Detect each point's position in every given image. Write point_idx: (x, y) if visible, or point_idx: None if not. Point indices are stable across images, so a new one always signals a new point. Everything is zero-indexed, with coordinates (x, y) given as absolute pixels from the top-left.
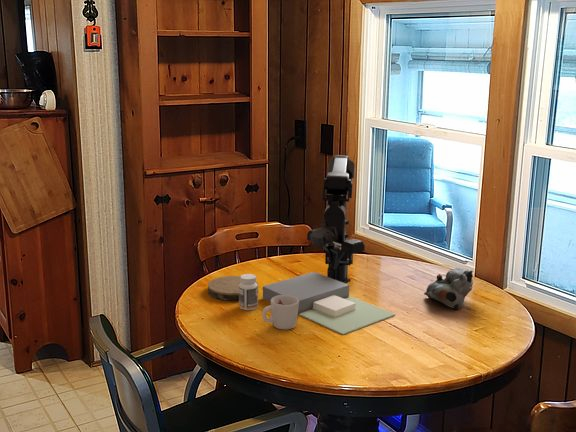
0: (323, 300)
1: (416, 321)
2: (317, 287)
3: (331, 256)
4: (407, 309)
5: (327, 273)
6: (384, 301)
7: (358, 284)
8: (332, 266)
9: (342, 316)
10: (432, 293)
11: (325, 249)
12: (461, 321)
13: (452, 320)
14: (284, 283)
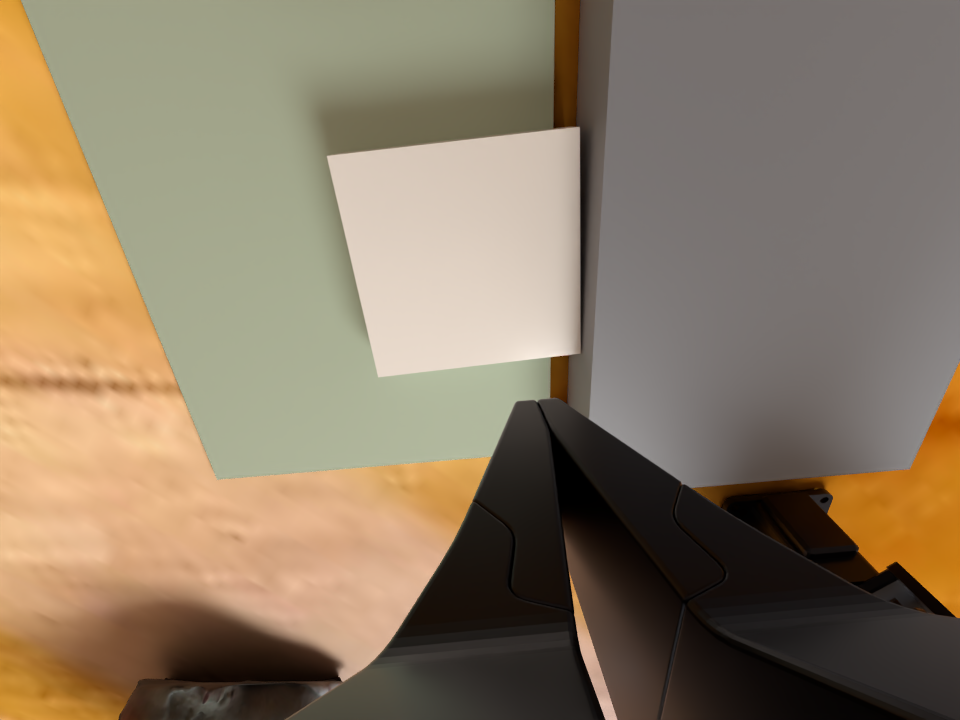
0: (550, 223)
1: (107, 504)
2: (713, 305)
3: (618, 531)
4: (267, 556)
5: (831, 520)
6: (408, 537)
7: None
8: (546, 409)
9: (325, 208)
10: (191, 708)
11: (947, 626)
12: (45, 633)
13: (67, 616)
14: None
